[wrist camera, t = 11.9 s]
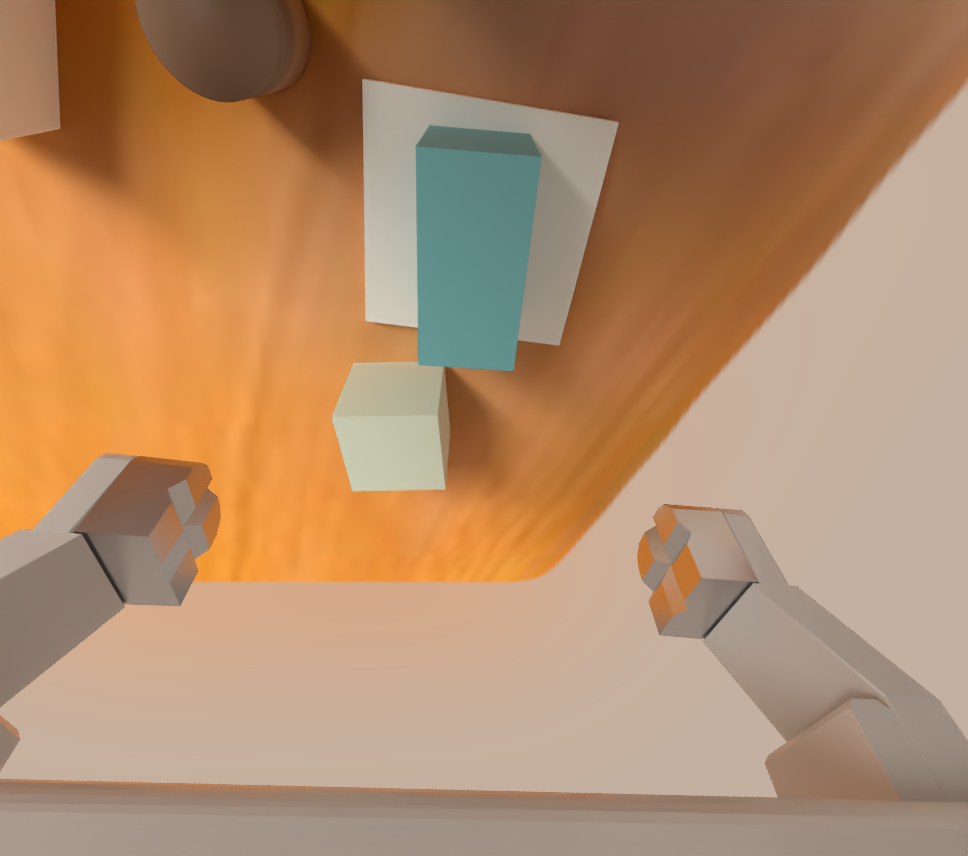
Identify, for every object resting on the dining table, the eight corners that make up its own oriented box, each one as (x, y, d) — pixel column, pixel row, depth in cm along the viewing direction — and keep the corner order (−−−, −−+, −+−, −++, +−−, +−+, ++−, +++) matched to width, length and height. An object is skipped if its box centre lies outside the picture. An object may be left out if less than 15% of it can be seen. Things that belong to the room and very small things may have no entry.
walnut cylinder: (210, 83, 19) (155, 91, 16) (185, -61, 16) (113, -86, 13) (315, 100, 19) (281, 111, 16) (305, -38, 17) (264, -57, 14)
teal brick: (429, 125, 19) (415, 146, 15) (530, 133, 19) (541, 157, 15) (429, 312, 24) (418, 365, 20) (508, 318, 24) (513, 371, 20)
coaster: (367, 315, 25) (365, 321, 24) (365, 78, 19) (362, 79, 18) (557, 340, 26) (559, 345, 25) (615, 120, 20) (618, 122, 19)
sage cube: (353, 362, 27) (369, 432, 30) (331, 417, 23) (352, 491, 26) (444, 360, 27) (450, 430, 30) (437, 414, 23) (445, 489, 26)
